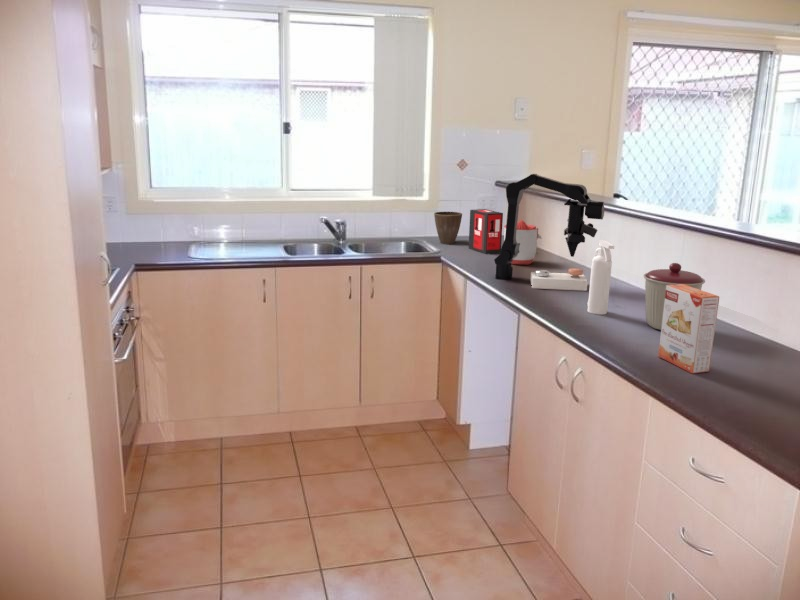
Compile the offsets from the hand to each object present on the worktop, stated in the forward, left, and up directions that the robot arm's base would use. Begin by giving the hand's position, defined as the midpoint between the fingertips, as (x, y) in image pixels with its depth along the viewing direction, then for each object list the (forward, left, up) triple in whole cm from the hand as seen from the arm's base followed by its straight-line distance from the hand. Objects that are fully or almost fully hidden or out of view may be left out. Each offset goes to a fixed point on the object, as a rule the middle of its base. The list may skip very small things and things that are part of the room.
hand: (572, 256), depth 272 cm
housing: (-5, -2, -12) cm, 13 cm away
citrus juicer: (-17, +43, -12) cm, 48 cm away
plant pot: (-54, +90, -12) cm, 106 cm away
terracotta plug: (+2, -2, -10) cm, 11 cm away
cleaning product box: (-34, +71, -12) cm, 80 cm away
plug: (-11, -2, -11) cm, 16 cm away
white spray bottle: (+5, -39, -12) cm, 41 cm away
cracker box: (+20, -91, -12) cm, 94 cm away
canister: (+25, -55, -12) cm, 61 cm away
